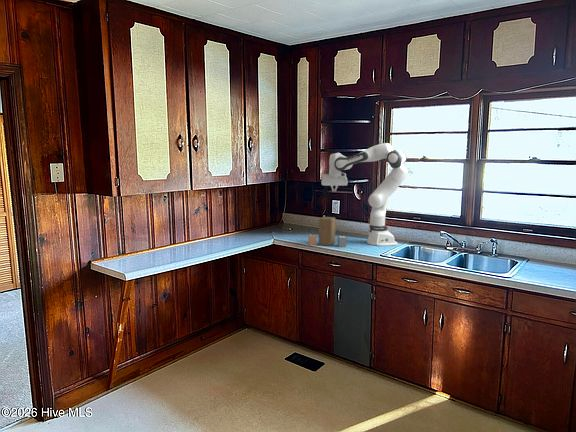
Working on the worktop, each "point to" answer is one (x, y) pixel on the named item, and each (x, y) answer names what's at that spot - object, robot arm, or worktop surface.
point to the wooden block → (327, 231)
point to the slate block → (341, 241)
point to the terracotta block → (312, 239)
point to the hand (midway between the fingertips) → (334, 191)
